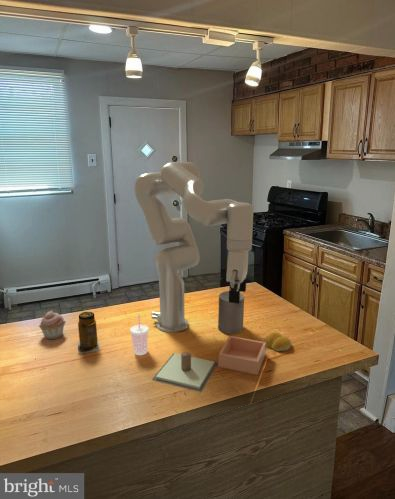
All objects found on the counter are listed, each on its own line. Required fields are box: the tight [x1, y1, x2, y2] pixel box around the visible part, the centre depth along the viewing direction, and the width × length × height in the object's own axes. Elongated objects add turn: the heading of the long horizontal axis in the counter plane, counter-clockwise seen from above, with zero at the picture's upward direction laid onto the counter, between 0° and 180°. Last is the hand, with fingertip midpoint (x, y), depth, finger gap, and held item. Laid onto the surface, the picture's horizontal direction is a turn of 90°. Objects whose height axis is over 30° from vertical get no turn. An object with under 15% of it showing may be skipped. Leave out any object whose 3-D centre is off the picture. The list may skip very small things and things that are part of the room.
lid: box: [156, 351, 216, 389], centre depth 116 cm, size 14×14×6 cm
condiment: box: [76, 311, 101, 354], centre depth 130 cm, size 7×8×12 cm
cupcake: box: [38, 309, 67, 340], centre depth 138 cm, size 9×9×10 cm
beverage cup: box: [129, 314, 149, 356], centre depth 126 cm, size 6×6×14 cm
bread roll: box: [264, 332, 292, 352], centre depth 132 cm, size 8×9×4 cm
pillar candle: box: [217, 290, 245, 335], centre depth 143 cm, size 10×10×15 cm
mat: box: [151, 352, 218, 393], centre depth 117 cm, size 16×16×1 cm
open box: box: [217, 335, 267, 377], centre depth 122 cm, size 13×13×5 cm
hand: (237, 296), depth 117 cm, fingers open, 9 cm apart
